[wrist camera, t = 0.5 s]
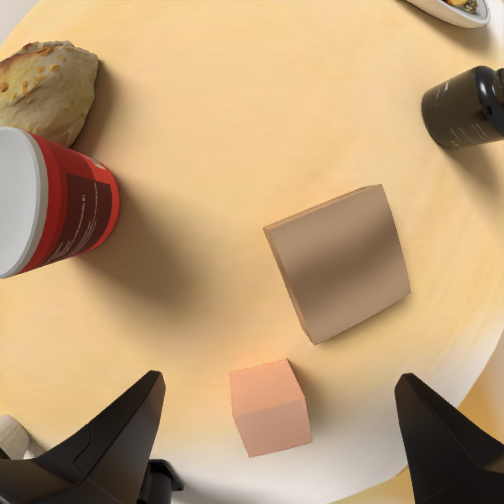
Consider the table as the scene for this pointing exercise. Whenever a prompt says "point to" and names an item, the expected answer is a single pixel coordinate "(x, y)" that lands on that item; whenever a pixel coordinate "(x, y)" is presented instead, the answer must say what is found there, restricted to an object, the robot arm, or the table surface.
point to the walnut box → (340, 261)
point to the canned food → (50, 202)
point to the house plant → (12, 439)
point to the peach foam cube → (269, 408)
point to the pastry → (48, 90)
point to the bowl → (457, 11)
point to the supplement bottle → (466, 108)
